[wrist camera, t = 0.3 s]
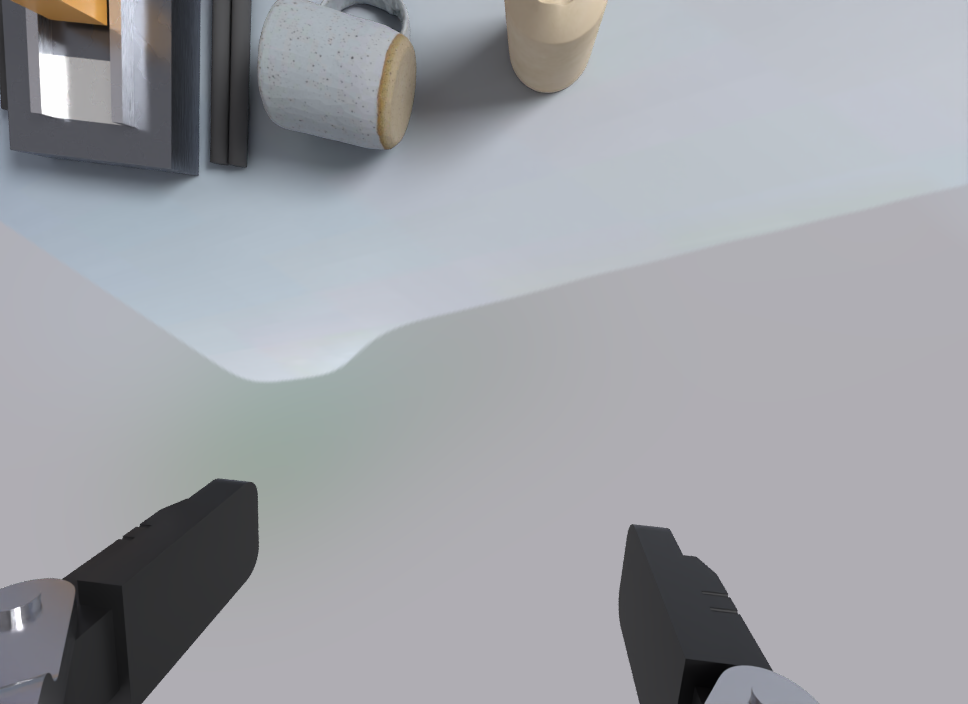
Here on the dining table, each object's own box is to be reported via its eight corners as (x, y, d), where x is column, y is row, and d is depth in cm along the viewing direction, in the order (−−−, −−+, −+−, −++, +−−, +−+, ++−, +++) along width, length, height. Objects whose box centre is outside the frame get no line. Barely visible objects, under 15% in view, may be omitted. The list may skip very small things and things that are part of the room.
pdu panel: (35, -146, 35) (-26, -196, 31) (201, -132, 34) (160, -182, 31) (49, 157, 39) (-4, 146, 35) (198, 175, 38) (161, 166, 34)
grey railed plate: (-2, -133, 35) (-20, -146, 34) (258, -110, 34) (248, -123, 33) (14, 139, 39) (-2, 135, 38) (249, 167, 38) (240, 165, 37)
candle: (547, 111, 36) (554, 57, 26) (492, 51, 35) (479, -27, 25) (607, 50, 35) (638, -30, 25) (552, -13, 34) (562, -121, 24)
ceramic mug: (406, 164, 37) (376, 139, 29) (299, 139, 37) (242, 107, 30) (438, 7, 35) (414, -63, 28) (324, -18, 35) (270, -95, 28)
